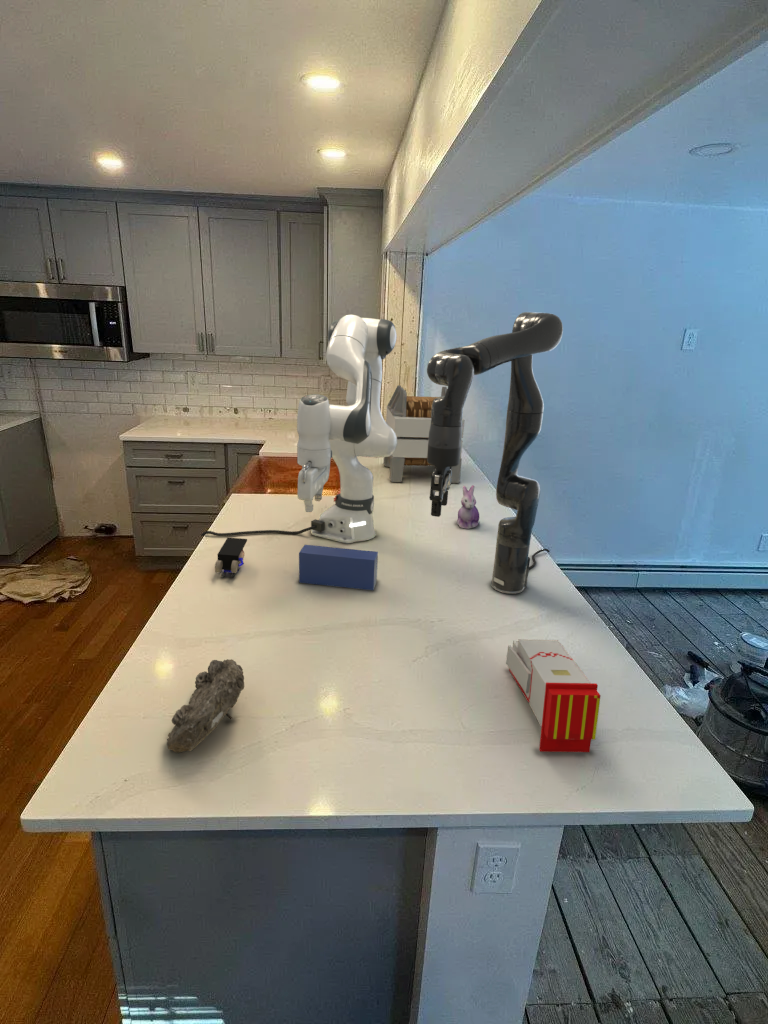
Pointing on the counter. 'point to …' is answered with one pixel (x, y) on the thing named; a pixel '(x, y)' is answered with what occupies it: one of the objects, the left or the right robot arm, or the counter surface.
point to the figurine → (468, 510)
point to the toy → (556, 694)
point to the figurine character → (230, 556)
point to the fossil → (206, 705)
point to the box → (338, 567)
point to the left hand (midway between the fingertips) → (313, 505)
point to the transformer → (412, 433)
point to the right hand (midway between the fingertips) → (439, 510)
